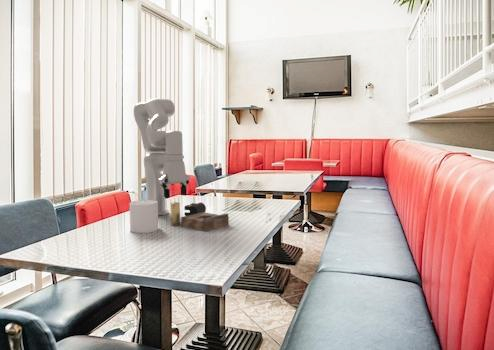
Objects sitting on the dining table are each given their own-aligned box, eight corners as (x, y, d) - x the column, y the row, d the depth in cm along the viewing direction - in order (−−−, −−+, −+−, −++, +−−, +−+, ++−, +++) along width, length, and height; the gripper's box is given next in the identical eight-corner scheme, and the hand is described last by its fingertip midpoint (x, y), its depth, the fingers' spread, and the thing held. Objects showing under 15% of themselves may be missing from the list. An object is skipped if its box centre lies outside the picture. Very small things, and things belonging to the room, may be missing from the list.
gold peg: (169, 224, 175) (168, 203, 174) (176, 223, 178) (175, 201, 177) (175, 226, 172) (174, 204, 171) (181, 224, 175) (181, 202, 174)
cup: (163, 227, 169) (162, 200, 168) (148, 234, 158) (147, 205, 157) (140, 225, 173) (140, 199, 172) (124, 231, 162) (123, 203, 161)
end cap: (197, 219, 186) (196, 206, 185) (184, 218, 188) (183, 205, 187) (206, 215, 195) (206, 202, 194) (193, 214, 197) (193, 201, 197)
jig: (181, 225, 173) (181, 214, 172) (203, 220, 183) (203, 209, 183) (206, 231, 163) (206, 219, 162) (228, 225, 173) (228, 214, 173)
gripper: (183, 157, 181) (184, 193, 182) (153, 159, 168) (154, 197, 169) (194, 157, 176) (195, 194, 177) (164, 159, 163) (165, 199, 164)
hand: (175, 196), depth 173 cm, fingers open, 9 cm apart
